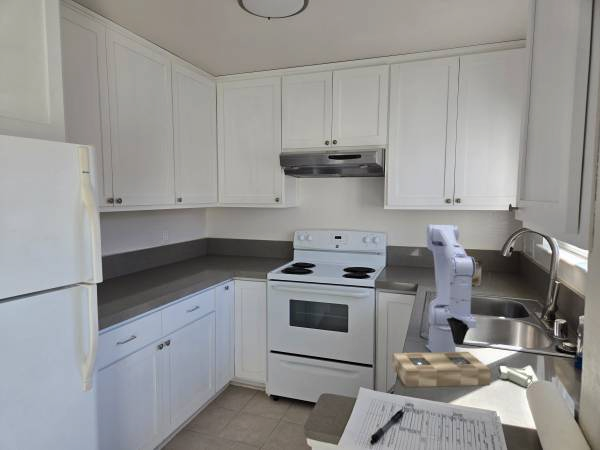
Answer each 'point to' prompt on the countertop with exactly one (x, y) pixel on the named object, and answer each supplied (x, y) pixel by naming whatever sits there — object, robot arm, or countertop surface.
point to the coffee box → (477, 273)
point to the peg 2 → (458, 361)
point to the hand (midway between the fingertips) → (458, 343)
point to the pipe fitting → (516, 375)
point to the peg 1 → (419, 362)
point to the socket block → (440, 369)
